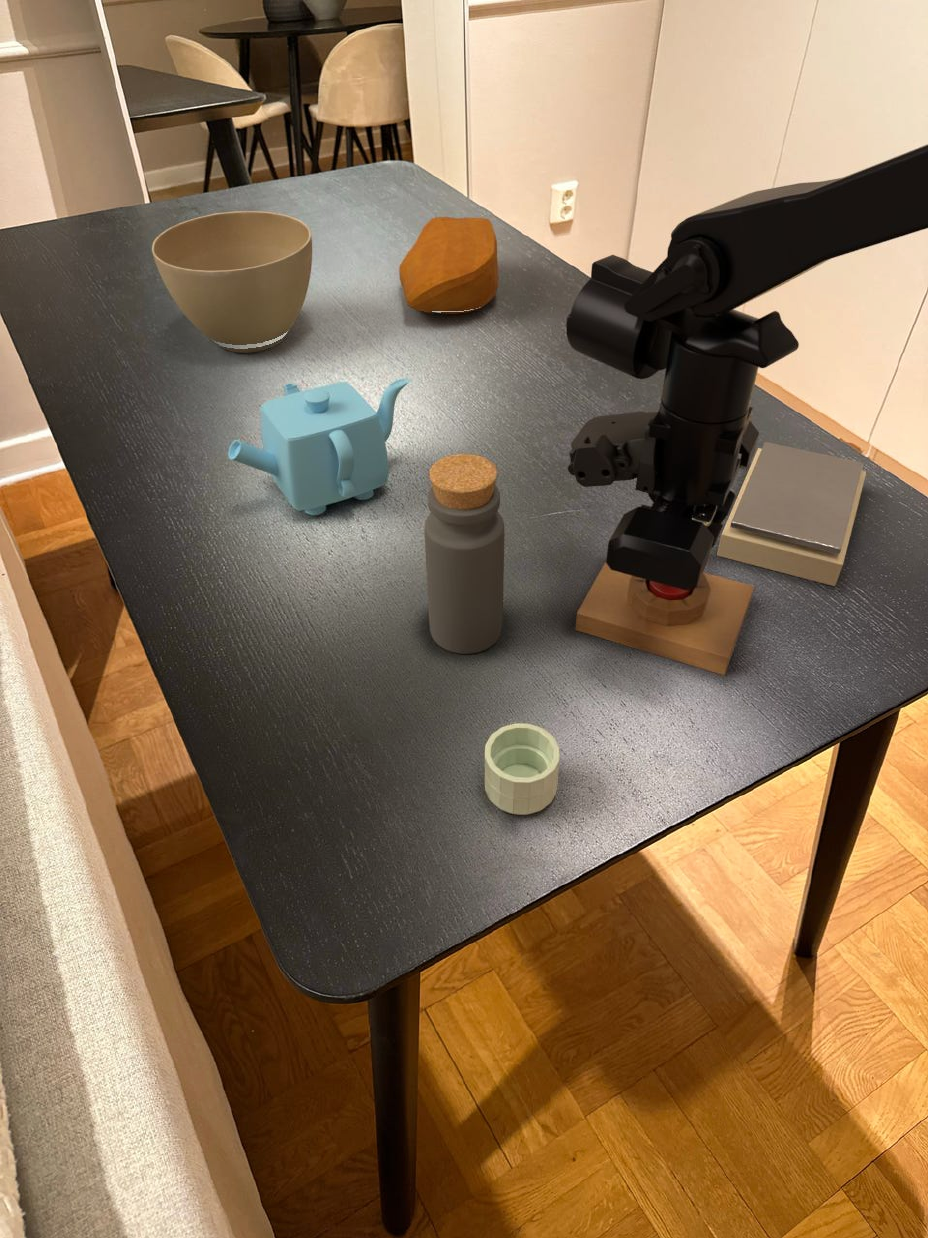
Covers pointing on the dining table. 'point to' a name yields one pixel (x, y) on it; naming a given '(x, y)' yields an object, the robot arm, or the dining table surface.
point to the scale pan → (799, 497)
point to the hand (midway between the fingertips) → (670, 580)
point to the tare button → (667, 591)
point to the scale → (785, 547)
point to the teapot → (323, 444)
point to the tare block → (668, 618)
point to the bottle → (464, 554)
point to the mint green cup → (521, 768)
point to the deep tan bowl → (237, 274)
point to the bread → (451, 266)
